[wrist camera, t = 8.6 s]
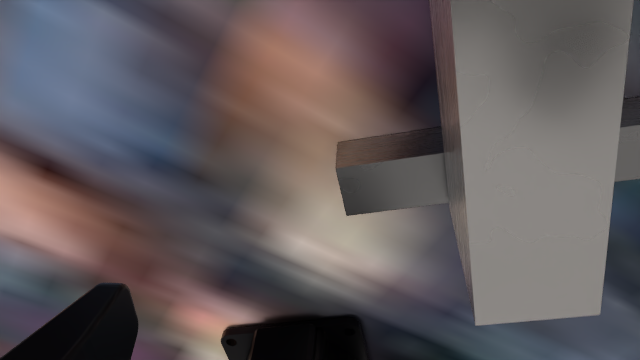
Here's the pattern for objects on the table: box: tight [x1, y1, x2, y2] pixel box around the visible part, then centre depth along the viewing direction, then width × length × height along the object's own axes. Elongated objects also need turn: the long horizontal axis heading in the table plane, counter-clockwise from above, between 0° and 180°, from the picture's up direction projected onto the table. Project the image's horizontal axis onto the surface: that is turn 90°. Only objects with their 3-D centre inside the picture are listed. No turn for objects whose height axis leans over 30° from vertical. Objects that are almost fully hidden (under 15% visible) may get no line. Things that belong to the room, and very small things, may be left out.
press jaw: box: [429, 0, 634, 326], centre depth 13 cm, size 10×3×5 cm, turn 12°
